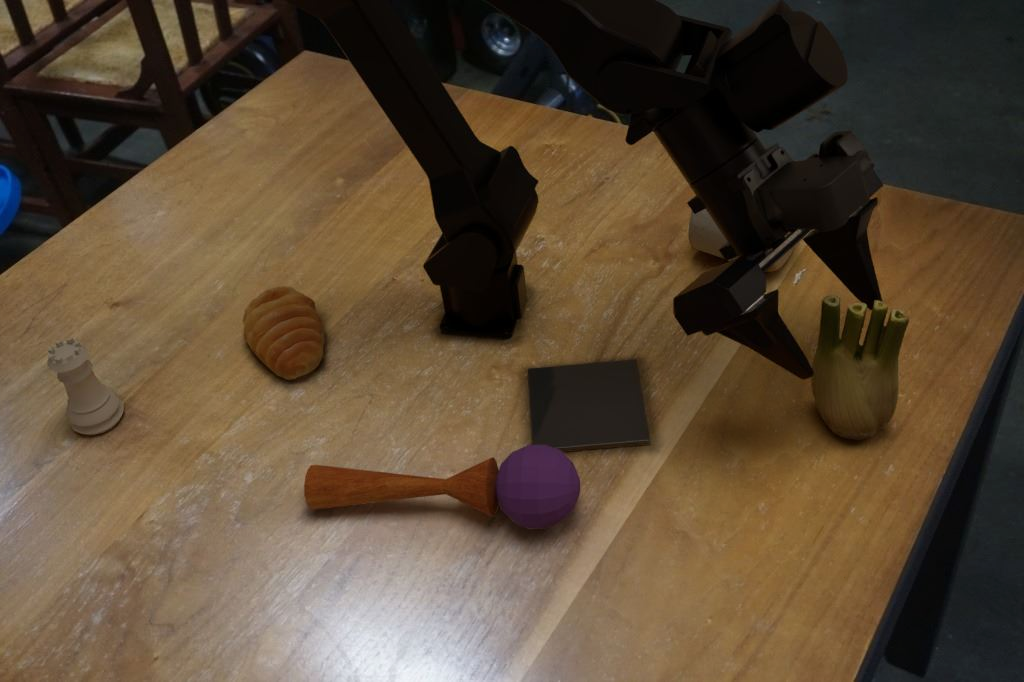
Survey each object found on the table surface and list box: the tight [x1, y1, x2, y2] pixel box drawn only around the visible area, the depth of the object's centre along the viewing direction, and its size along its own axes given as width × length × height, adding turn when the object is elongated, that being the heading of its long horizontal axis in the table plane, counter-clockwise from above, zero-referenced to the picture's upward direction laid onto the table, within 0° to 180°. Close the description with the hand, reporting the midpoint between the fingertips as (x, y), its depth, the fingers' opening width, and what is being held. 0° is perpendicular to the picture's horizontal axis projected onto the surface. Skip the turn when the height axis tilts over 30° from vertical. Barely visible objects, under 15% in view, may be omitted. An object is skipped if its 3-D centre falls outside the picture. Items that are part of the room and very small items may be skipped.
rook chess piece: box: [46, 337, 125, 436], centre depth 89 cm, size 4×4×8 cm
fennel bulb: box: [810, 294, 910, 441], centre depth 80 cm, size 6×5×12 cm
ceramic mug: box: [687, 209, 796, 273], centre depth 98 cm, size 11×8×8 cm
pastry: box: [242, 285, 326, 381], centre depth 95 cm, size 9×7×4 cm
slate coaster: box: [527, 358, 651, 453], centre depth 87 cm, size 9×9×1 cm
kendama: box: [303, 444, 581, 530], centre depth 80 cm, size 6×6×20 cm
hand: (843, 341), depth 79 cm, fingers open, 9 cm apart
